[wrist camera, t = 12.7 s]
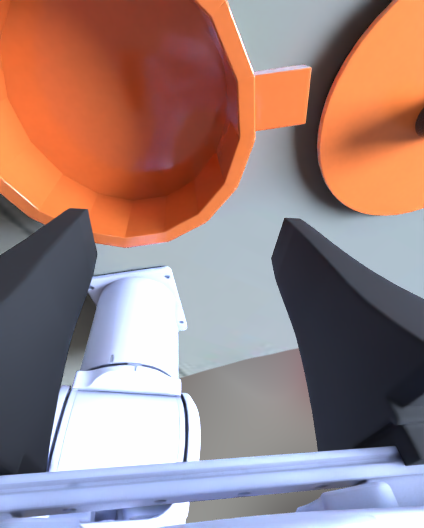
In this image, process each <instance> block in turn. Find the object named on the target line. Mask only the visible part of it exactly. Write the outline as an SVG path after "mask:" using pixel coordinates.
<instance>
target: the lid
mask: <svg viewBox="0 0 424 528" xmlns="http://www.w3.org/2000/svg"><path fill="white" fill-rule="evenodd" d="M317 153H318V162H319V167H320V172H321V174H322V177H323V179H324V182H325V183H326V185H327V187H328V188H329V190H330V191H331V193H332V194H333V195H334V196H335V197H336V198H337V199H338V200H339V201H340V202H341V203H343V204H344V205H345V206H347V207H349V208H351V209H353V210H355V211H358V212H361V213H364V214H370V215H382V216H387V215H398V214H403V213H408V212H412V211H416V210H419V209H422V208H424V0H393V1H392V2H391V3H390V4H389V5H388V6H387V7H386V8H385V9H384V10H383V11H382V12H381V13H380V14H379V16H378V17H377V18H376V19H375V20H374V21H373V22H372V23H371V25H370V26H369V27H368V28H367V30H366V31H365V32H364V33H363V35H362V36H361V37H360V38H359V40H358V41H357V42H356V44H355V45H354V47H353V48H352V50H351V51H350V53H349V55H348V56H347V58H346V59H345V61H344V63H343V64H342V66H341V68H340V70H339V72H338V74H337V76H336V77H335V79H334V82H333V84H332V86H331V89H330V91H329V93H328V96H327V98H326V102H325V105H324V108H323V111H322V114H321V119H320V124H319V129H318V140H317Z"/></svg>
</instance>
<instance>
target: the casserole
mask: <svg viewBox="0 0 424 528" xmlns="http://www.w3.org/2000/svg"><path fill="white" fill-rule="evenodd" d="M310 78H311V67H309V66H307V65H305V64H302V65H295V66H288V67H281V68H275V69H268V70H261V71H253V68H252V65H251V63H250V60H249V57H248V55H247V52H246V49H245V47H244V44H243V41H242V39H241V36H240V33H239V30H238V28H237V25H236V22H235V20H234V17H233V14H232V12H231V9H230V6H229V4H228V1H227V0H0V194H2V195H3V196H4V197H5V198H7V199H8V200H9V201H10V202H11V203H13V204H14V205H15V206H16V207H18V208H19V209H20V210H21V211H22V212H24V213H25V214H26V215H27V216H29V217H30V218H32V219H33V220H36V221H38V222H40V223H42V224H44V225H46V224H47V223H49V222H50V221H51V220H53V219H54V218H56V217H57V216H58V215H60V214H61V213H63V212H64V211H65V210H67V209H69V208H80V209H88V212H89V217H90V222H91V227H92V231H93V236H94V241H95V243H98V244H104V245H110V246H117V247H123V248H126V247H127V248H129V247H136V246H143V245H150V244H157V243H164V242H169V241H171V240H173V239H175V238H177V237H179V236H181V235H183V234H185V233H187V232H189V231H191V230H192V229H194V228H196V227H198V226H200V225H202V224H204V223H206V222H207V221H208V220H209V219H210V218H211V217H212V216H213V215H214V213H215V212H216V211H217V210H218V209H219V208H220V207H221V206H222V205H223V203H224V202H225V201H226V200H227V199H228V198H229V197H230V196H231V194H232V193H233V192H234V191H235V190H236V188H237V187H238V185H239V182H240V179H241V177H242V174H243V171H244V169H245V166H246V163H247V160H248V158H249V155H250V152H251V150H252V147H253V144H254V142H255V131H260V130H267V129H274V128H281V127H288V126H295V125H301V124H305V123H306V115H307V106H308V96H309V87H310Z"/></svg>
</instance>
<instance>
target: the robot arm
mask: <svg viewBox="0 0 424 528" xmlns="http://www.w3.org/2000/svg"><path fill="white" fill-rule="evenodd" d="M96 258H97V251H96V246H95V241H94V236H93V231H92V227H91V222H90V217H89V212H88V209H80V208H69V209H67V210H65V211H64V212H63V213H61V214H60V215H58V216H57V217H56V218H54V219H53V220H51V221H50V222H49V223H47V224H46V225H45V226H43V227H42V228H40V229H39V230H38V231H36V232H35V233H33V234H32V235H31V236H29V237H28V238H26V239H25V240H23V241H22V242H20V243H19V244H17V245H16V246H14V247H12V248H11V249H9V250H8V251H6V252H5V253H3V254H2V255H0V528H424V299H423V298H421V297H419V296H417V295H415V294H413V293H411V292H409V291H407V290H405V289H403V288H401V287H399V286H397V285H395V284H394V283H392V282H390V281H388V280H387V279H385V278H383V277H382V276H380V275H378V274H376V273H375V272H373V271H372V270H370V269H368V268H367V267H365V266H364V265H362V264H361V263H359V262H358V261H357V260H355V259H354V258H352V257H351V256H349V255H348V254H347V253H345V252H344V251H342V250H341V249H340V248H338V247H337V246H336V245H334V244H333V243H332V242H331V241H329V240H328V239H327V238H325V237H324V236H323V235H322V234H320V233H319V232H318V231H316V230H315V229H314V228H312V227H311V226H310V225H308V224H307V223H306V222H304V221H303V220H301V219H296V218H284V221H283V224H282V227H281V230H280V233H279V236H278V239H277V242H276V246H275V249H274V252H273V255H272V258H271V259H272V265H273V270H274V274H275V279H276V282H277V285H278V288H279V291H280V293H281V296H282V299H283V302H284V304H285V307H286V310H287V312H288V315H289V318H290V320H291V323H292V326H293V329H294V332H295V335H296V338H297V343H298V347H299V351H300V355H301V358H302V363H303V367H304V372H305V377H306V382H307V386H308V392H309V397H310V403H311V408H312V414H313V420H314V427H315V433H316V440H317V447H318V452H308V453H294V454H281V455H268V456H255V457H242V458H229V459H216V460H202V461H199V455H200V421H199V414H198V410H197V407H196V405H195V403H194V402H193V400H192V398H191V397H190V395H189V394H187V393H181V380H180V379H178V331H180V330H185V329H186V328H187V323H186V319H185V316H184V312H183V309H182V306H181V302H180V299H179V295H178V292H177V288H176V285H175V281H174V278H173V274H172V271H171V269H170V268H169V267H158V268H151V269H144V270H136V271H129V272H122V273H115V274H108V275H101V276H94V277H93V273H94V268H95V263H96ZM165 275H169V276H165ZM91 286H93V287H91ZM87 292H88V293H89V295H90V296H91V298H92V300H93V301H94V303H95V305H96V306H97V309H96V313H95V316H94V320H93V324H92V328H91V331H90V335H89V339H88V343H87V346H86V350H85V354H84V358H83V361H82V365H81V369H80V371H77V372H76V375H75V378H74V382H73V385H72V389H71V386H69V385H62V386H61V382H62V377H63V373H64V368H65V363H66V359H67V355H68V350H69V346H70V342H71V338H72V335H73V332H74V329H75V326H76V323H77V320H78V317H79V315H80V312H81V309H82V306H83V303H84V301H85V298H86V295H87ZM342 487H347V488H342ZM331 488H342V489H338V490H333V491H328V492H323V493H322V494H321V496H320V498H318V499H316V500H315V501H313V502H311V503H309V504H306V505H304V506H301V507H298V508H297V510H296V512H293V513H283V514H282V513H281V514H270V515H259V516H249V517H239V518H229V519H220V520H210V521H203V522H195V523H186V524H185V519H186V517H187V515H188V509H189V502H195V501H205V500H215V499H226V498H235V497H236V498H237V497H247V496H257V495H268V494H279V493H289V492H298V491H310V490H320V489H331Z"/></svg>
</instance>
